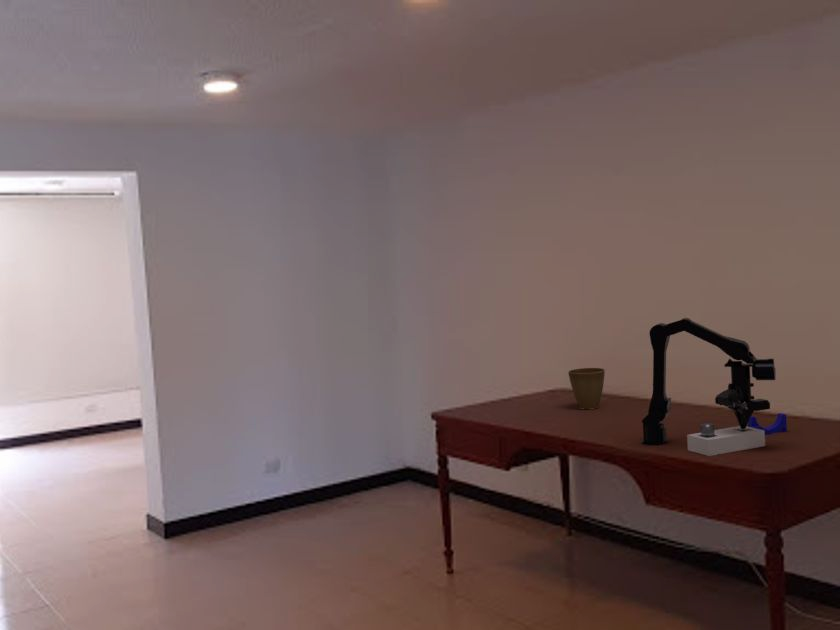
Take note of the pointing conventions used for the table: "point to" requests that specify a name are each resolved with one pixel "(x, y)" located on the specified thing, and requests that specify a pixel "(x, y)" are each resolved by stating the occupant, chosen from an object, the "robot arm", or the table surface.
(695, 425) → the table surface
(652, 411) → the robot arm
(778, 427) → the blue arch block
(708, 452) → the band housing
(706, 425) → the near peg
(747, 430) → the far peg
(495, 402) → the table surface
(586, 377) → the plant pot
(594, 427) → the table surface
